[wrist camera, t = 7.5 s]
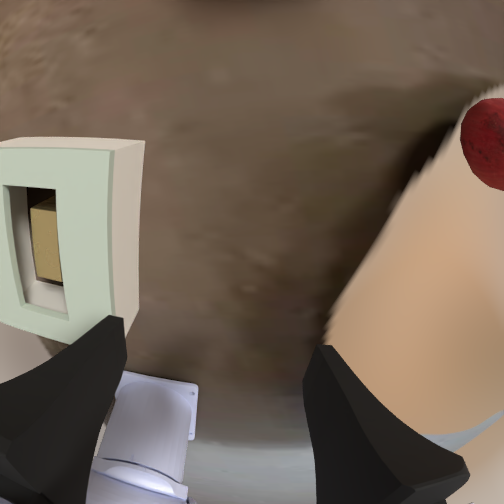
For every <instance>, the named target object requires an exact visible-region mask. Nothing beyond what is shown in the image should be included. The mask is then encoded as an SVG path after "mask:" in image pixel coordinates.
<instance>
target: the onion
mask: <svg viewBox="0 0 504 504" xmlns="http://www.w3.org/2000/svg"><path fill="white" fill-rule="evenodd" d="M460 141H461V145H462V149H463V154H464V156H465V158H466V160H467V162H468V164H469V166H470V168H471V170H472V172H473V173H474V174H475V175H476V176H477V177H478V178H479V179H480V180H481V181H482V182H484V183H485V184H486V185H488V186H489V187H492V188H495V189H499V190H502V191H504V99H503V98H491V99H484V100H481V101H480V102H478V103H477V104H475V105H474V106H473V107H471V108H470V109H469V110H468V111H467V113H466V115H465V117H464V119H463V121H462V123H461V137H460Z"/></svg>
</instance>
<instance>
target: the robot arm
mask: <svg viewBox="0 0 504 504" xmlns="http://www.w3.org/2000/svg"><path fill="white" fill-rule="evenodd" d="M126 360H127V350H126V341H125V330H124V318H122V317H117V316H112V315H108V316H106V317H105V318H104V319H102V320H101V321H100V322H99V323H97V324H96V325H95V326H94V327H92V328H91V329H90V330H89V331H87V332H86V333H85V334H84V335H82V336H81V337H80V338H79V339H77V340H76V341H75V342H73V343H72V344H71V345H69V346H68V347H67V348H65V349H64V350H62V351H61V352H60V353H58V354H57V355H55V356H54V357H52V358H51V359H49V360H48V361H46V362H45V363H43V364H41V365H39V366H38V367H36V368H34V369H33V370H30V371H28V372H26V373H24V374H22V375H20V376H18V377H15V378H14V379H11V380H9V381H7V382H4V383H1V384H0V504H197V503H196V501H195V500H194V499H193V498H192V497H187V492H188V486H185V485H182V482H183V474H184V466H185V458H186V451H187V444H188V440H194V438H195V425H196V412H197V399H198V386H197V385H196V384H193V383H186V382H180V381H174V380H168V379H163V378H157V377H152V376H147V375H142V374H138V373H133V372H128V371H124V367H125V364H126ZM302 382H303V399H304V407H305V412H306V417H307V422H308V427H309V432H310V437H311V442H312V447H313V452H314V459H315V473H316V497H317V504H447V503H446V500H445V499H446V498H447V497H449V496H450V495H451V494H453V493H454V492H455V491H457V490H458V489H459V488H461V487H462V486H463V485H464V484H465V483H466V482H467V481H468V479H469V477H470V473H469V471H468V468H467V466H466V464H465V462H464V459H463V457H461V456H459V455H457V454H455V453H453V452H451V451H449V450H446V449H444V448H442V447H440V446H438V445H437V444H435V443H433V442H431V441H430V440H428V439H426V438H425V437H423V436H422V435H420V434H418V433H417V432H416V431H414V430H413V429H411V428H410V427H409V426H407V425H406V424H404V423H403V422H402V421H401V420H400V419H398V418H397V417H396V416H395V415H394V414H393V413H391V412H390V411H389V410H388V409H387V408H386V407H385V406H384V405H383V404H382V403H381V402H379V401H378V399H377V398H376V397H375V396H374V395H373V394H372V393H371V392H370V391H369V390H368V389H367V388H366V386H365V385H364V384H363V383H362V382H361V381H360V380H359V378H358V377H357V376H356V375H355V374H354V372H353V371H352V370H351V369H350V367H349V366H348V365H347V364H346V362H345V361H344V360H343V359H342V357H341V356H340V355H339V354H338V352H337V351H336V350H335V349H334V348H333V346H332V345H318V344H317V345H316V348H315V350H314V353H313V355H312V358H311V361H310V363H309V366H308V368H307V371H306V373H305V376H304V378H303V381H302ZM114 395H115V399H116V402H115V405H114V408H113V410H112V413H111V416H110V419H109V422H108V424H107V427H106V430H105V433H104V437H103V439H102V442H101V445H100V448H99V451H98V454H97V457H96V456H95V457H94V459H93V456H94V451H95V447H96V443H97V440H98V436H99V432H100V429H101V426H102V424H103V421H104V419H105V416H106V414H107V411H108V409H109V407H110V404H111V402H112V400H113V397H114ZM92 461H93V462H92ZM469 504H474V503H469Z"/></svg>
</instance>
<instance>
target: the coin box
mask: <svg viewBox="0 0 504 504" xmlns="http://www.w3.org/2000/svg"><path fill="white" fill-rule="evenodd" d="M144 149H145V141H140V140H126V139H109V138H85V137H20V138H16V139H11V140H7V141H3V142H0V322H2V323H5V324H8V325H10V326H13V327H16V328H19V329H22V330H25V331H28V332H31V333H34V334H37V335H40V336H43V337H46V338H49V339H53V340H56V341H59V342H63V343H66V344H70V345H71V344H72V343H73V342H75V341H76V340H77V339H79V338H80V337H81V336H82V335H84V334H85V333H86V332H87V331H89V330H90V329H91V328H92V327H94V326H95V325H96V324H97V323H99V322H100V321H101V320H102V319H104V318H105V317H106V316H108V315H112V316H117V317H122V318H124V330H125V337H126V335H127V333H128V331H129V329H130V327H131V325H132V323H133V320H134V318H135V316H136V314H137V312H138V310H139V274H138V264H139V219H140V199H141V184H142V171H143V159H144ZM27 187H37V188H48V189H56V210H57V229H58V242H59V253H60V262H61V270H62V278H63V285H64V287H63V286H58V285H54V284H50V283H45V282H41V281H37V280H36V275H35V269H34V263H33V256H32V248H31V240H30V231H29V220H28V206H27Z"/></svg>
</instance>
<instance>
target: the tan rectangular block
mask: <svg viewBox="0 0 504 504" xmlns="http://www.w3.org/2000/svg"><path fill="white" fill-rule="evenodd" d="M30 209H31V225H32V236H33V246H34V255H35V262H36V269H37V276H39V277H43V278H47V279H52V280H56V281H60V282H62V281H63V278H62V270H61V262H60V253H59V242H58V229H57V210H56V195H54V196H52V197H50V198H48V199H46V200H44V201H43V202H41V203H39V204H37V205H35V206H34V207H32V208H30Z"/></svg>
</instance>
